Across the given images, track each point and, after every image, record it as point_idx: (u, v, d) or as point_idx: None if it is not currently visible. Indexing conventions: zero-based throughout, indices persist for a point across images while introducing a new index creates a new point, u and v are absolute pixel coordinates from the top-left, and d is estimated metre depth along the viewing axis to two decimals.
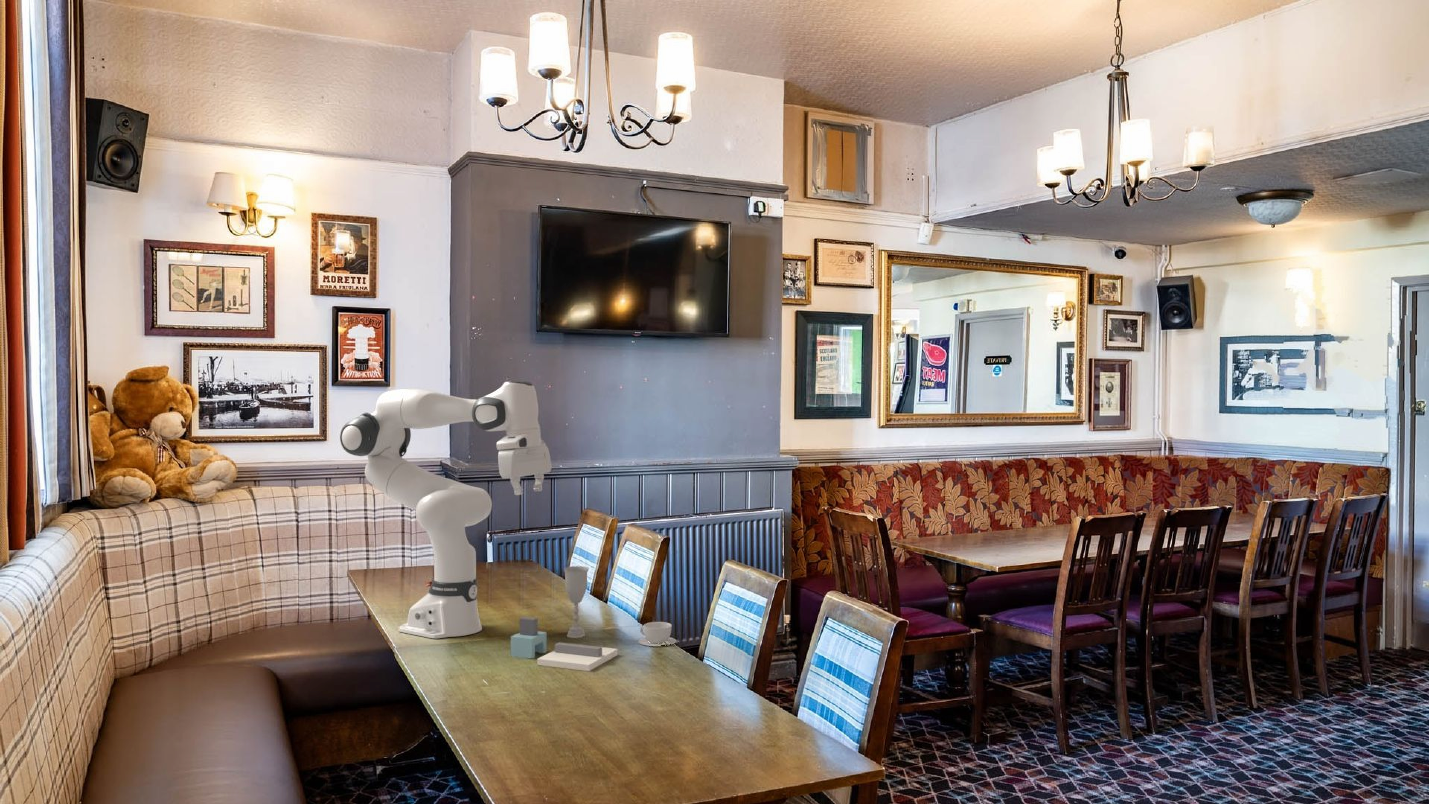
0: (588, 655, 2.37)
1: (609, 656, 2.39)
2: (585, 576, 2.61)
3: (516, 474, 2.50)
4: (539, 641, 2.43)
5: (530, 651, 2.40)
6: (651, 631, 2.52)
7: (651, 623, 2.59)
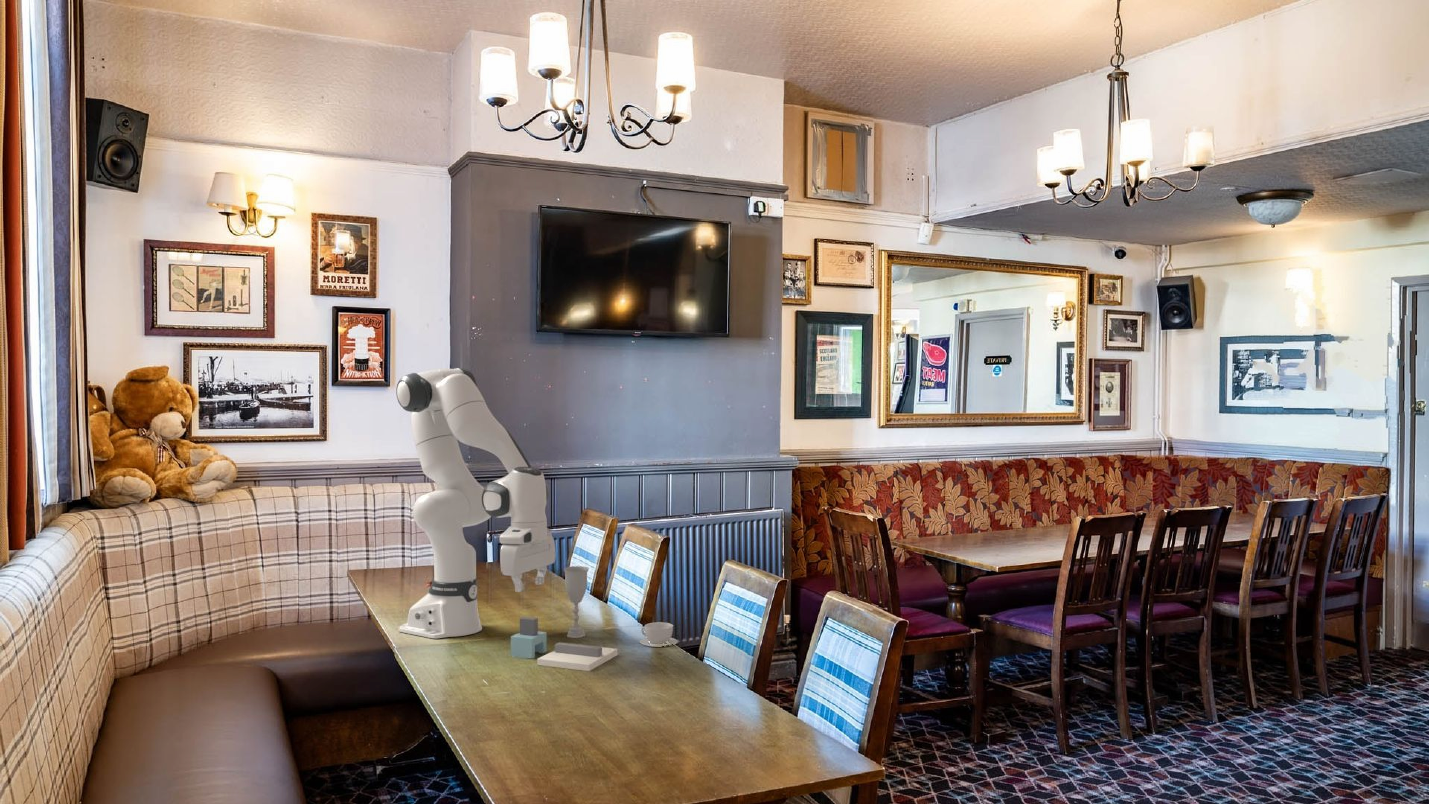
0: (588, 655, 2.37)
1: (609, 656, 2.39)
2: (585, 576, 2.61)
3: (518, 571, 2.35)
4: (539, 641, 2.43)
5: (530, 651, 2.40)
6: (652, 631, 2.52)
7: (652, 623, 2.58)
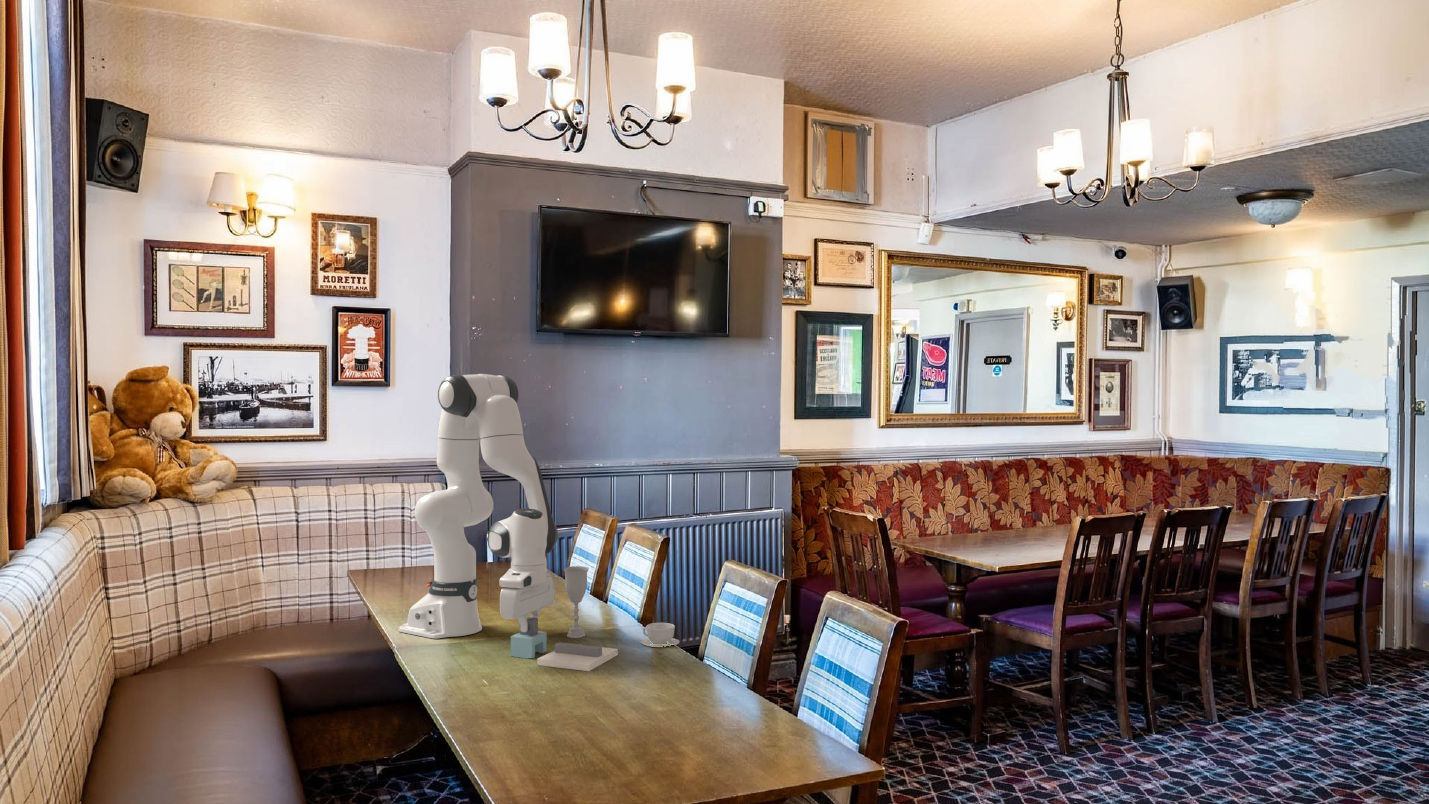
0: (588, 655, 2.37)
1: (609, 656, 2.39)
2: (585, 576, 2.61)
3: (517, 615, 2.36)
4: (539, 641, 2.43)
5: (530, 651, 2.40)
6: (654, 632, 2.51)
7: (654, 624, 2.58)
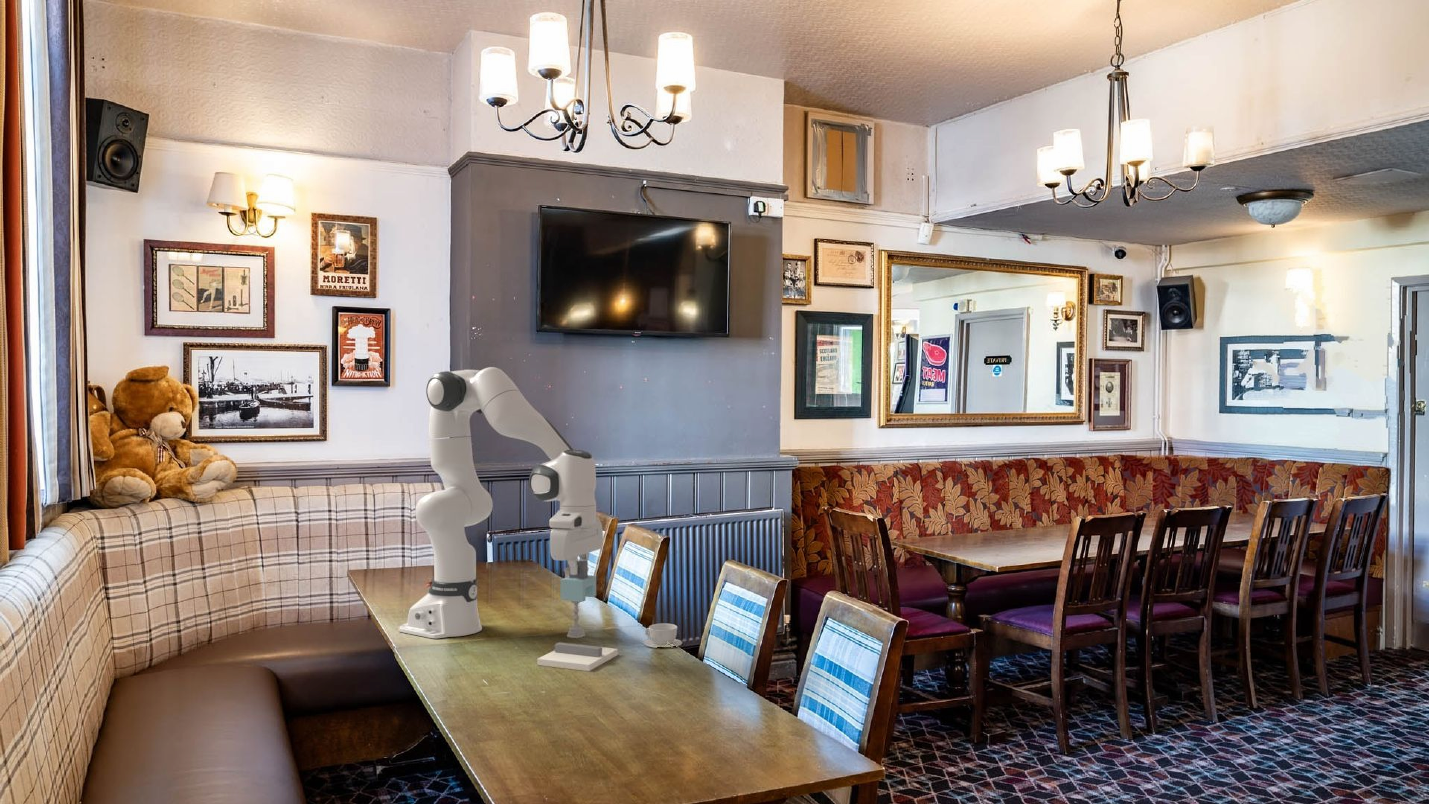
0: (588, 655, 2.37)
1: (609, 656, 2.39)
2: None
3: (568, 556, 2.30)
4: (589, 584, 2.37)
5: (581, 593, 2.34)
6: (657, 633, 2.51)
7: (656, 625, 2.57)
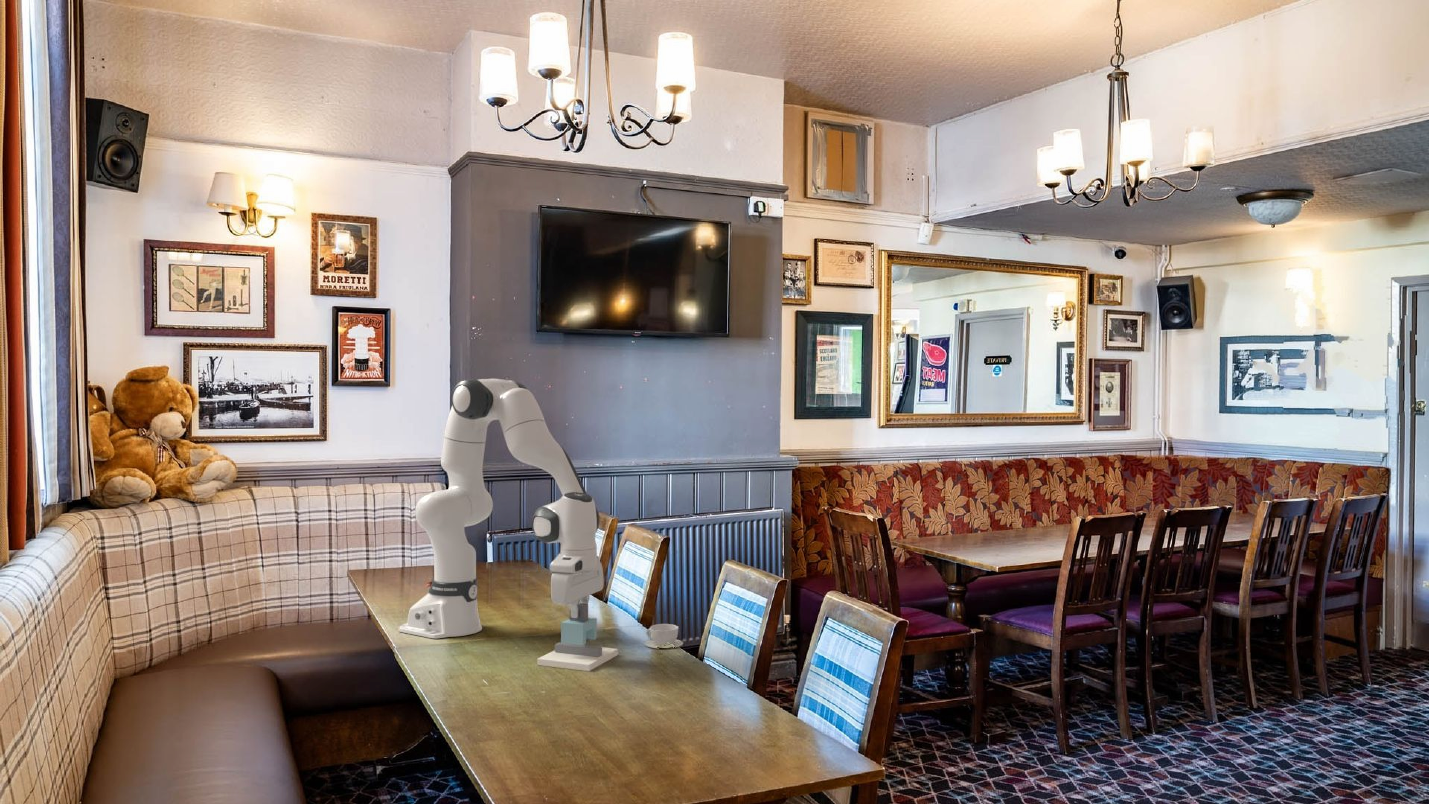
0: (588, 655, 2.37)
1: (609, 656, 2.39)
2: None
3: (569, 600, 2.31)
4: (590, 627, 2.38)
5: (581, 637, 2.34)
6: (658, 633, 2.50)
7: (657, 625, 2.56)
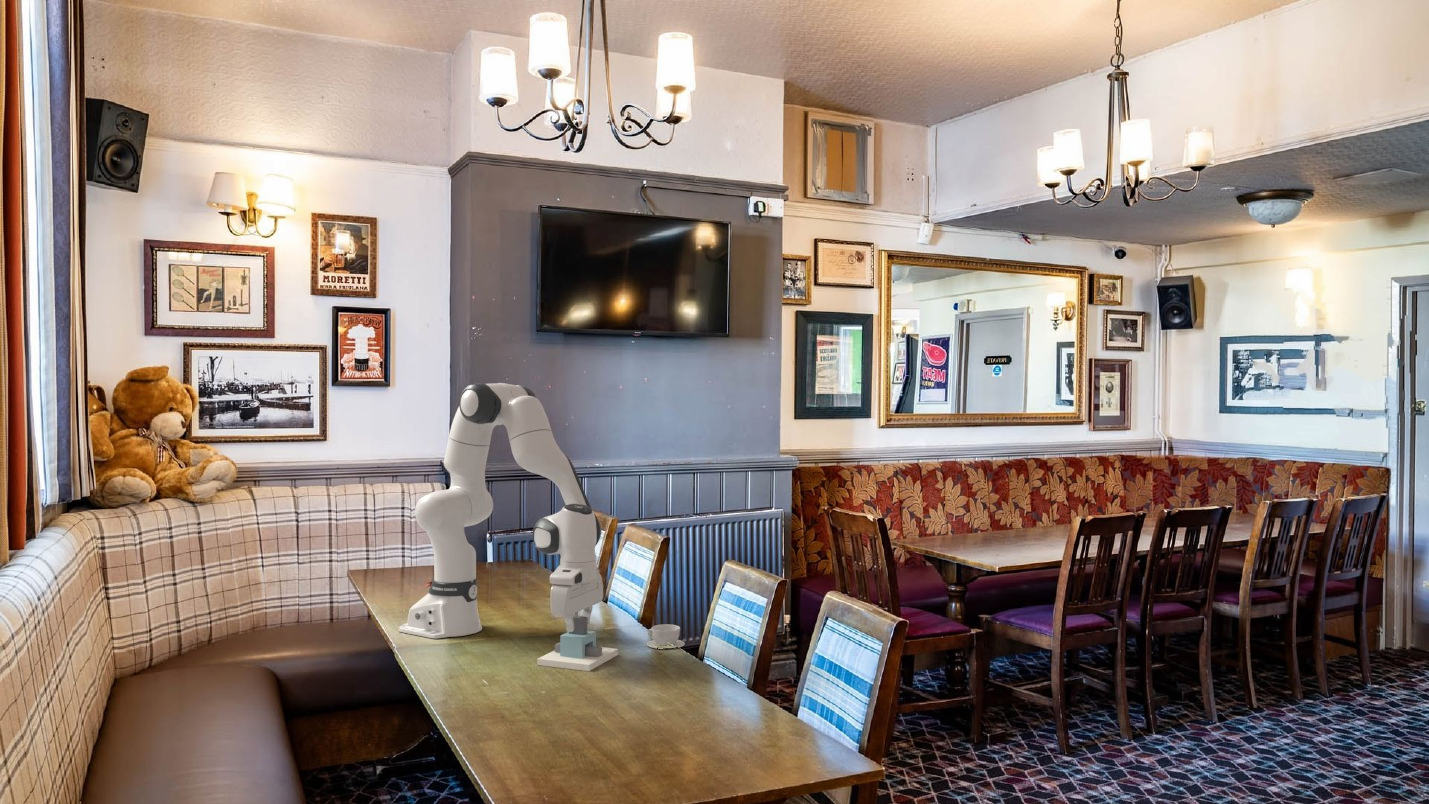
0: (588, 655, 2.37)
1: (609, 656, 2.39)
2: None
3: (568, 613, 2.31)
4: (589, 640, 2.38)
5: (580, 650, 2.35)
6: (660, 634, 2.50)
7: (659, 625, 2.56)
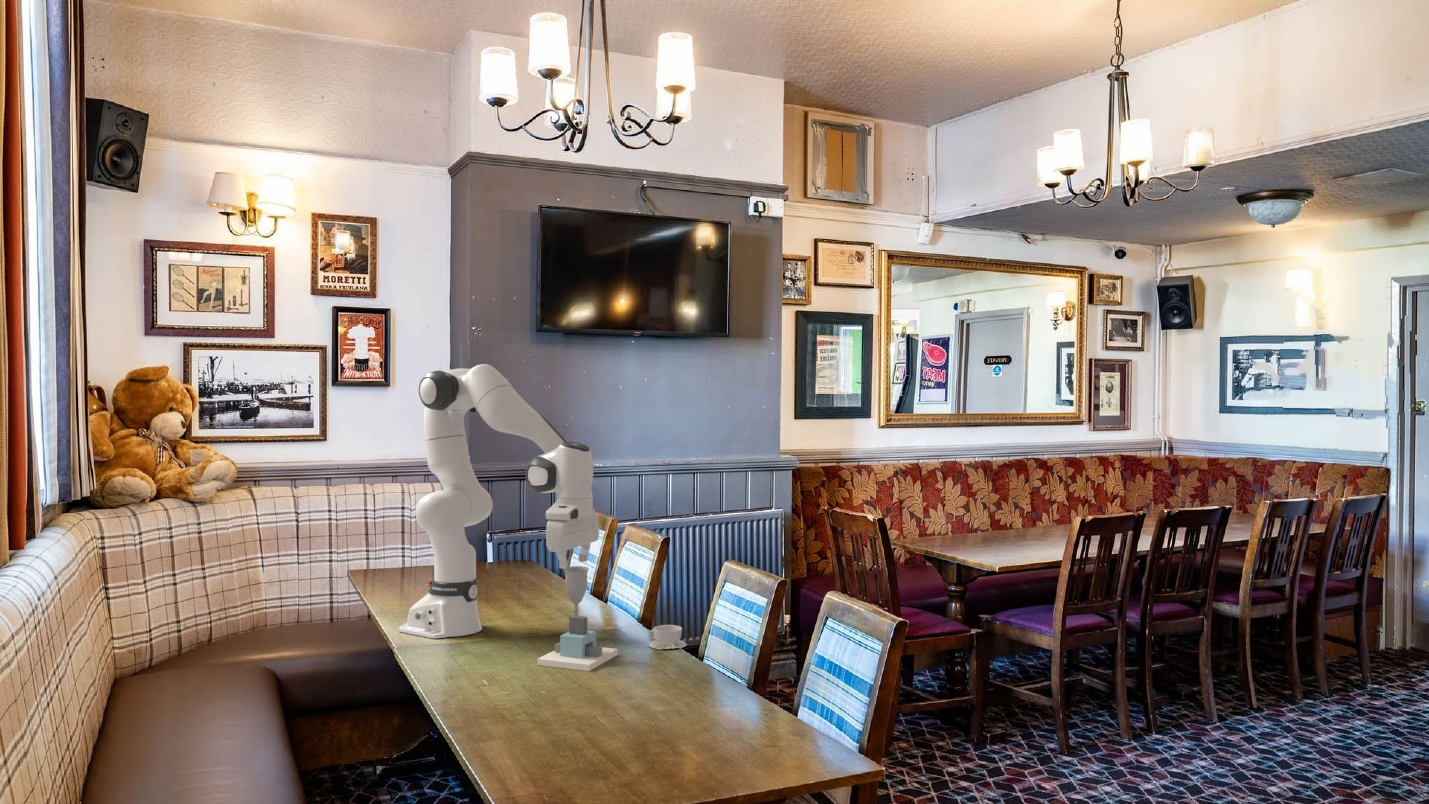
0: (588, 655, 2.37)
1: (609, 656, 2.39)
2: (585, 576, 2.61)
3: (564, 548, 2.32)
4: (589, 640, 2.38)
5: (580, 650, 2.35)
6: (662, 634, 2.49)
7: (660, 626, 2.55)
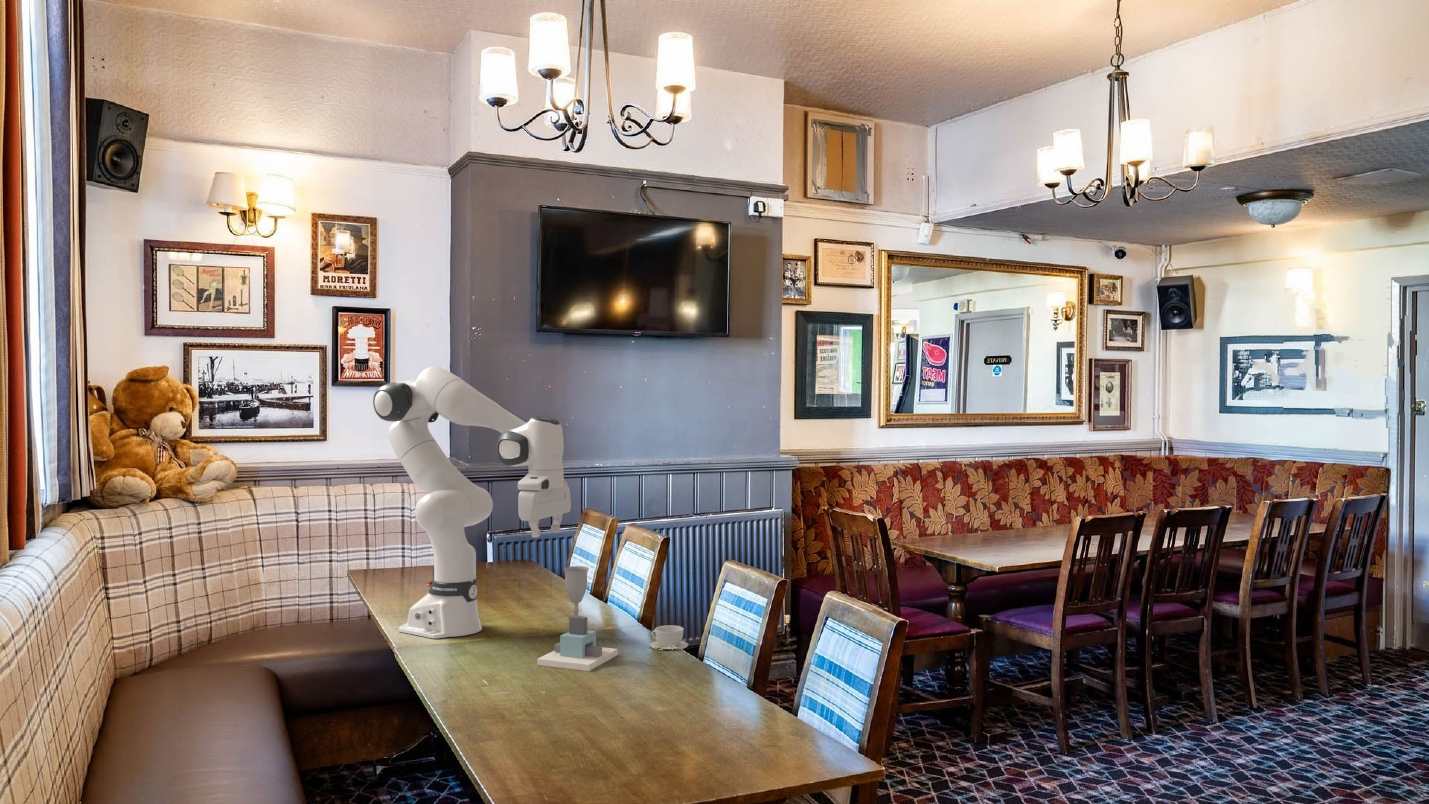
0: (588, 655, 2.37)
1: (609, 656, 2.39)
2: (585, 576, 2.61)
3: (535, 517, 2.41)
4: (589, 640, 2.38)
5: (580, 650, 2.35)
6: (663, 635, 2.49)
7: (662, 626, 2.55)
